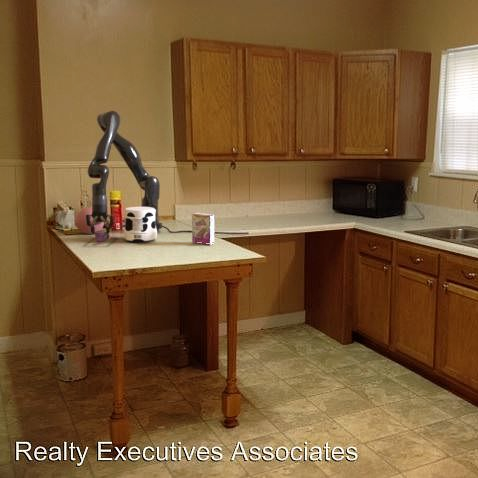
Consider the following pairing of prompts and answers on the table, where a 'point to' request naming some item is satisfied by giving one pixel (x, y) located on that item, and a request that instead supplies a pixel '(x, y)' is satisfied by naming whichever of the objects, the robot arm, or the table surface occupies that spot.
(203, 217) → the candy bar box
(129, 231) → the white black spotted canister
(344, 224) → the table surface
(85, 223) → the pink piggy bank
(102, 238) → the dish bottom
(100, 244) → the brown board with circles
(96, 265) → the table surface
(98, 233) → the purple stepped cylinder
